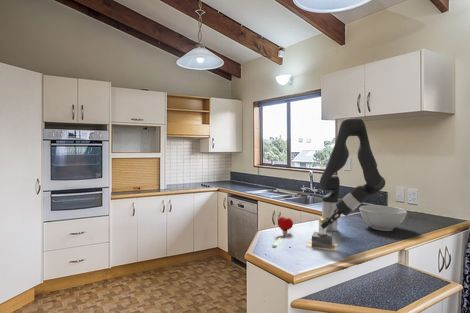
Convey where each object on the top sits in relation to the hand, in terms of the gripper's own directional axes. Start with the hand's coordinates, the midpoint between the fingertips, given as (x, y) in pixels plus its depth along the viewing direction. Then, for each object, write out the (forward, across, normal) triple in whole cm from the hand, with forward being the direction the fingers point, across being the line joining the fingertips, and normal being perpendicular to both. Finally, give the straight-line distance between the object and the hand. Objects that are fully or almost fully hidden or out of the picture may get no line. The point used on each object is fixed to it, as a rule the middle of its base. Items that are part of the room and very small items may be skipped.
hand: (323, 225), depth 154 cm
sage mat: (+20, +2, -4) cm, 21 cm away
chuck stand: (+8, 0, +8) cm, 11 cm away
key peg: (+7, 0, +7) cm, 10 cm away
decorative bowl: (-13, -55, +29) cm, 64 cm away
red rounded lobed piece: (+24, -14, -8) cm, 29 cm away
